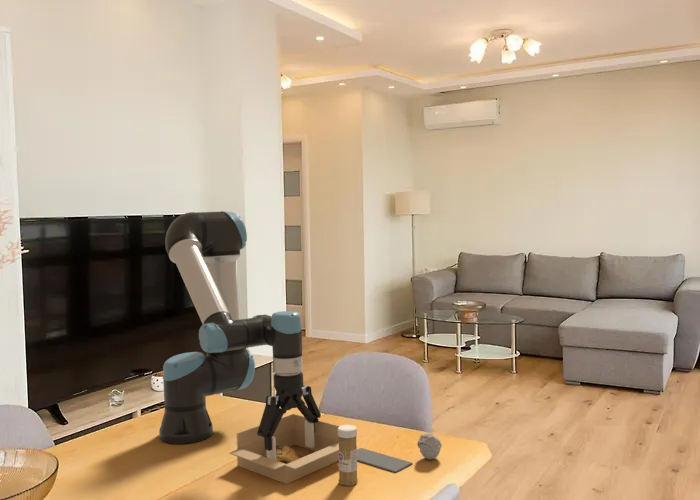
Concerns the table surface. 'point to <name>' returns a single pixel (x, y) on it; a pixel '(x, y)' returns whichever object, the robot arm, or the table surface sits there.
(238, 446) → the carton
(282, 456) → the shoe last
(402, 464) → the mat
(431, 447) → the grey rough lump
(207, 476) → the table surface
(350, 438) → the sprinkles bottle
